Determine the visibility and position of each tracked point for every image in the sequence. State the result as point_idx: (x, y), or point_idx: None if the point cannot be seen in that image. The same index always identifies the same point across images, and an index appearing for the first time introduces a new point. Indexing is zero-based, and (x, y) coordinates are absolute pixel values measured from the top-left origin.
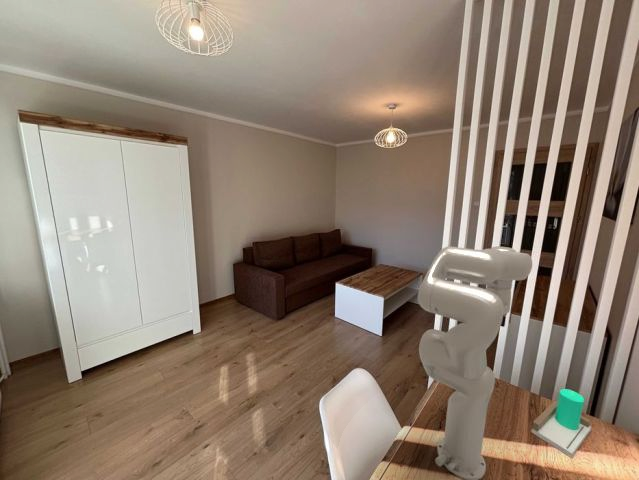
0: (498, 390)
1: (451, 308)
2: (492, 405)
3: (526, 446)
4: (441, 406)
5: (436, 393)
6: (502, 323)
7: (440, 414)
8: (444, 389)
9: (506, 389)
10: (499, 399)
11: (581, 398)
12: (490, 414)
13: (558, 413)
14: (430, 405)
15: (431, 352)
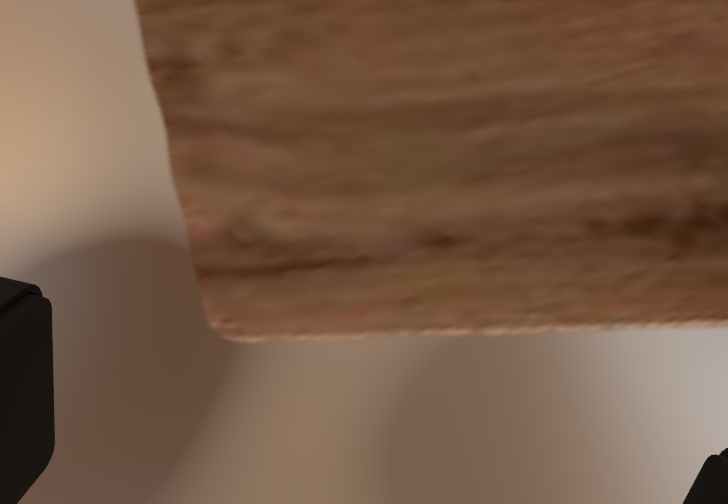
0: (216, 43)
1: None
2: (405, 31)
3: None
4: (649, 253)
5: (553, 308)
6: (1, 359)
7: (724, 235)
8: (480, 288)
9: (160, 6)
10: (306, 13)
11: None
12: (504, 17)
13: None
14: (685, 299)
15: None
